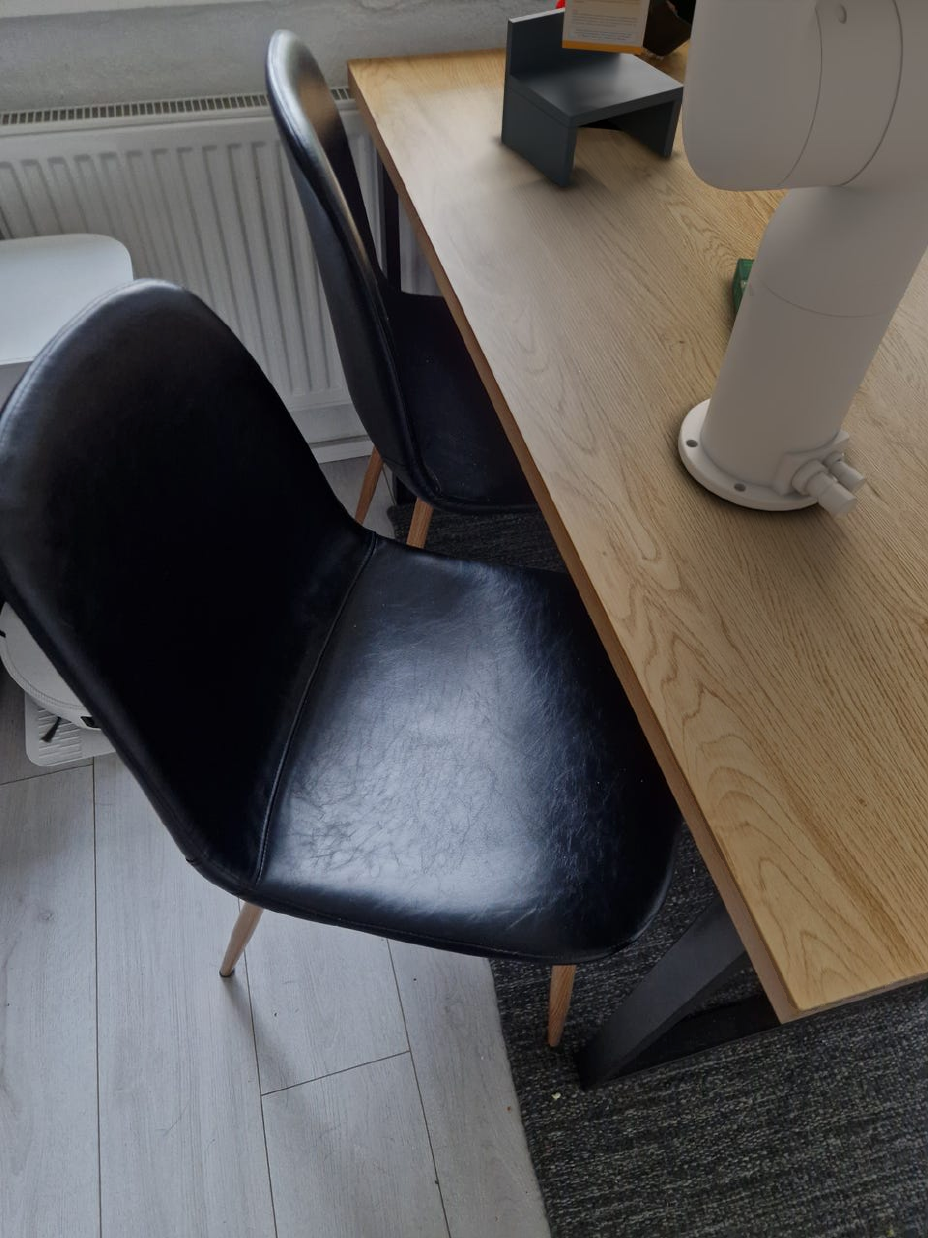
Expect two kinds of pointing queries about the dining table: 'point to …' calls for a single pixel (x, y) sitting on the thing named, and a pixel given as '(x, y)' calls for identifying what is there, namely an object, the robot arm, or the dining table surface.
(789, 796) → the dining table surface
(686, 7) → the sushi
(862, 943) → the dining table surface
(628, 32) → the supplement box
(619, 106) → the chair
